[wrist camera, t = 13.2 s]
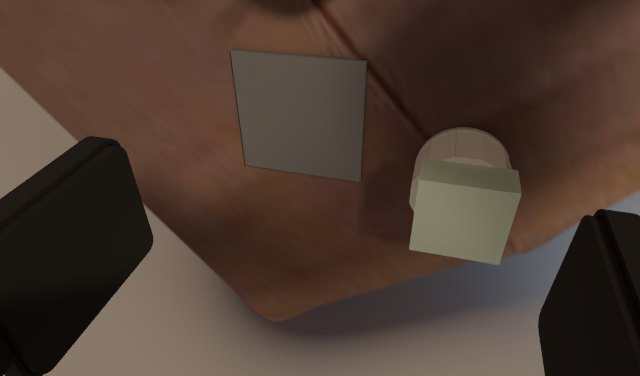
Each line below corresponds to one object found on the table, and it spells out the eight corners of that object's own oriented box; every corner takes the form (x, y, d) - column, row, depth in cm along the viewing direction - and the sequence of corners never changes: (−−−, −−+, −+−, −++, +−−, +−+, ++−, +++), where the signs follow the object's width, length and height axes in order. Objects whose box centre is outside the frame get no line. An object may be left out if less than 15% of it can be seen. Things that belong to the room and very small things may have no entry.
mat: (367, 60, 36) (366, 62, 36) (360, 179, 43) (360, 182, 43) (232, 48, 39) (230, 50, 39) (247, 163, 46) (245, 165, 46)
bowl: (520, 133, 36) (526, 165, 32) (498, 208, 41) (501, 244, 37) (421, 121, 38) (416, 151, 34) (411, 195, 43) (405, 229, 39)
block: (518, 170, 33) (521, 193, 31) (497, 239, 37) (499, 265, 35) (422, 158, 34) (419, 179, 32) (412, 225, 39) (408, 249, 36)
